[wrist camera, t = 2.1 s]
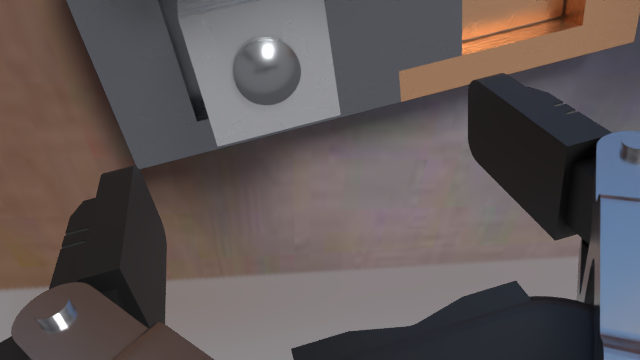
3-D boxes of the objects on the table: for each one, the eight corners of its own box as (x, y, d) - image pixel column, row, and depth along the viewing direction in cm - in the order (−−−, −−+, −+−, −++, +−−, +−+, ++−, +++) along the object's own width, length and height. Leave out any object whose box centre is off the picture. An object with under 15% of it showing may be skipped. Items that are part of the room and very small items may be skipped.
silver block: (207, 87, 22) (218, 150, 18) (175, -19, 20) (178, 21, 15) (306, 63, 23) (342, 117, 18) (287, -43, 20) (323, -12, 16)
